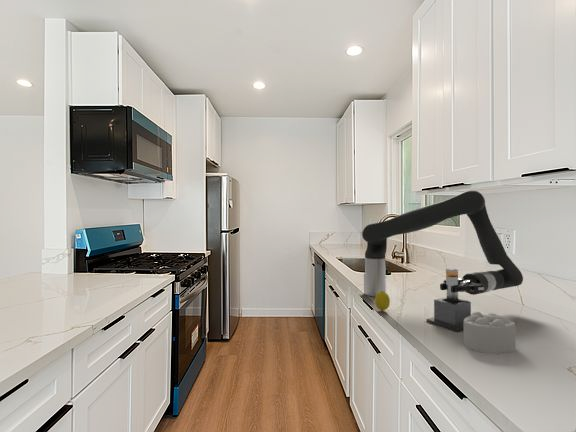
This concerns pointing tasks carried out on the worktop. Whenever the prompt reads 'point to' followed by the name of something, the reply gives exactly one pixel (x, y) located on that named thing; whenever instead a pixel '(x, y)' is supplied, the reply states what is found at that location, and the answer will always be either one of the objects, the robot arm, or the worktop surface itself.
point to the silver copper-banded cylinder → (450, 281)
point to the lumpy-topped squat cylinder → (489, 333)
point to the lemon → (382, 300)
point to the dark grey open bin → (450, 314)
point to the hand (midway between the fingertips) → (446, 288)
